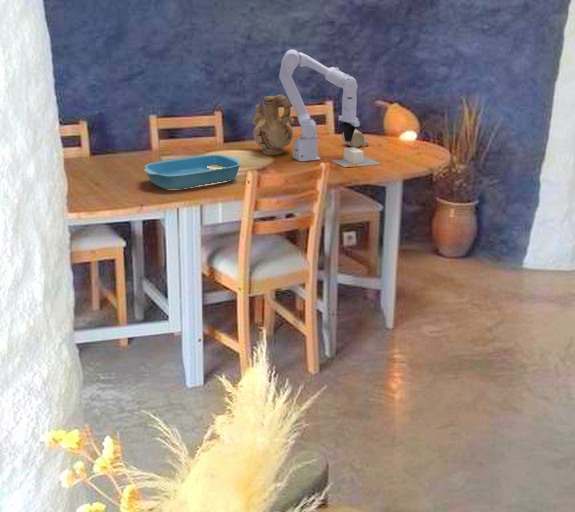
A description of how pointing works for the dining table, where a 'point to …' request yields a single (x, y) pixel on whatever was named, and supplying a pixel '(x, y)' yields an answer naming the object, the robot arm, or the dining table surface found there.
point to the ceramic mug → (356, 139)
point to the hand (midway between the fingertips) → (348, 141)
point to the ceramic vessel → (273, 125)
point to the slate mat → (365, 163)
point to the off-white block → (353, 155)
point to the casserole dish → (192, 171)
